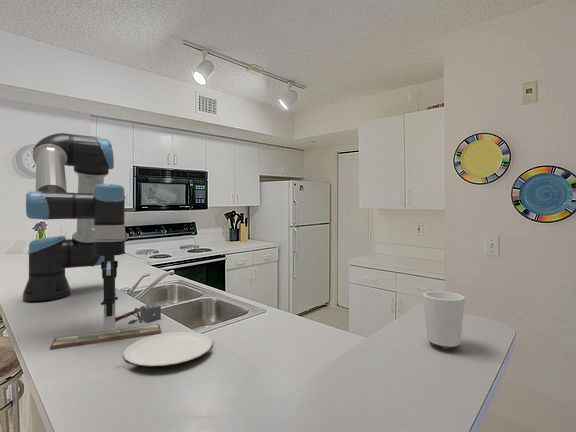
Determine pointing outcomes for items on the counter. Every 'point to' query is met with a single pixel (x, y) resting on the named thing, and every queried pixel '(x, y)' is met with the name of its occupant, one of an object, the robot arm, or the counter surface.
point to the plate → (167, 349)
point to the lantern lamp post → (129, 315)
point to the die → (150, 313)
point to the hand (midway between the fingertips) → (109, 325)
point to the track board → (105, 336)
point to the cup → (444, 318)
